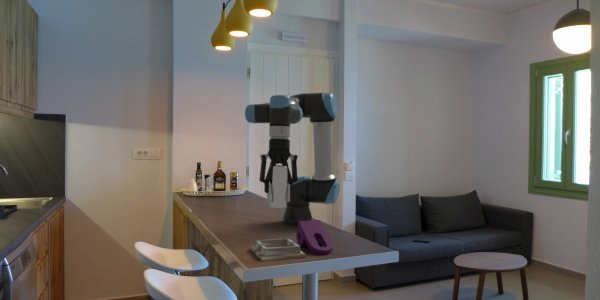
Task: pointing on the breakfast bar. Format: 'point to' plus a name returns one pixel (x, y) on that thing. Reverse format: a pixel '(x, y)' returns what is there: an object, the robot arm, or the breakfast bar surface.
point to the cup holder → (277, 249)
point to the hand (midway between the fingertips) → (278, 201)
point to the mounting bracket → (314, 236)
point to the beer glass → (279, 186)
